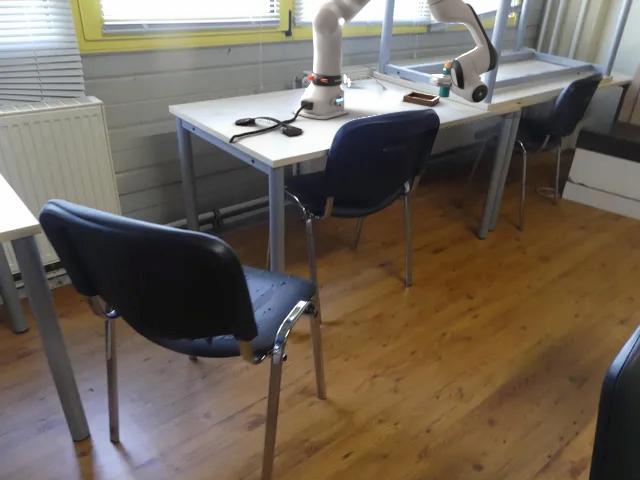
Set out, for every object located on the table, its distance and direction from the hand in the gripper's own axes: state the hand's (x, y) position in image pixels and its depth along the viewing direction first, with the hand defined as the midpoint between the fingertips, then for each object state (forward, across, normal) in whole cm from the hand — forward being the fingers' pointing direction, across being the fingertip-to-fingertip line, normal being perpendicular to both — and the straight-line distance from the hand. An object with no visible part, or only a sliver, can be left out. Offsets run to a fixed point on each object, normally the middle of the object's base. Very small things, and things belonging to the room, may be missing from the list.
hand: (446, 76), depth 232 cm
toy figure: (-1, 0, -8) cm, 8 cm away
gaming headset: (-25, -80, -14) cm, 85 cm away
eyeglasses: (+41, -21, -14) cm, 48 cm away
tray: (+12, -4, -14) cm, 19 cm away
